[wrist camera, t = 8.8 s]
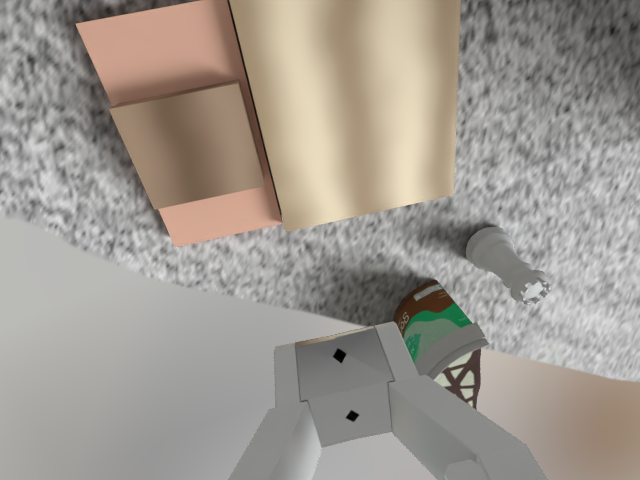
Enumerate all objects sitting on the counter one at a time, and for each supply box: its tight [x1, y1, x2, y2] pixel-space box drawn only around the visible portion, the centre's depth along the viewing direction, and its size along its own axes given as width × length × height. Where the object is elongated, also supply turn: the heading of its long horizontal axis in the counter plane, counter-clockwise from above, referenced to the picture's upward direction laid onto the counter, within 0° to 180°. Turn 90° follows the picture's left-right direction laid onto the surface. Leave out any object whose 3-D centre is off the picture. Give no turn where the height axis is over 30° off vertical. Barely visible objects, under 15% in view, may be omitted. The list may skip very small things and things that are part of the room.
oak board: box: [229, 0, 461, 232], centre depth 26 cm, size 14×16×3 cm
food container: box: [394, 280, 489, 410], centre depth 36 cm, size 12×6×10 cm, turn 10°
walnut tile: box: [109, 79, 265, 210], centre depth 25 cm, size 8×7×2 cm
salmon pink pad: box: [76, 0, 282, 247], centre depth 27 cm, size 9×16×2 cm, turn 9°
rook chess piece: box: [466, 227, 551, 305], centre depth 33 cm, size 4×4×8 cm
